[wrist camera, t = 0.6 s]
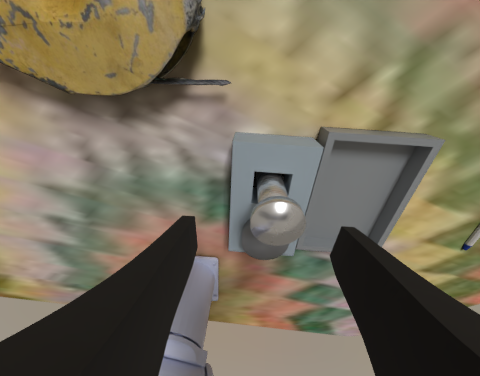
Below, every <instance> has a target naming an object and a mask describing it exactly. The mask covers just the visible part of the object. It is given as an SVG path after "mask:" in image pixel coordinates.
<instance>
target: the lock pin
mask: <svg viewBox="0 0 480 376" xmlns="http://www.w3.org/2000/svg"><path fill="white" fill-rule="evenodd" d="M256 178H257V194H258V203H257V204H256V205H255V206H254V208H253V210H252V212H251V216H250V228H251V232H252V234H253V235H254V237H255V238H256V239H258V240H259V241H261V242H262V243H265V244H268V245H273V246H280V245H286V244H289V243H291V242H294V241H295V240H297V239H298V238H299V237H300V236H301V235H302V234H303V232H304V230H305V228H306V218H305V216H304V213H303V211H302V208H301V206H300V205H299V204H298V203H297V202H296V201H294V200H293V199H291V198H288V195H287V191H286V188H285V185H284V182H283V179H282V176H281V173H270V172H257V173H256Z"/></svg>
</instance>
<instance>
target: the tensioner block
mask: <svg viewBox="0 0 480 376" xmlns="http://www.w3.org/2000/svg"><path fill="white" fill-rule="evenodd" d="M323 149H324V147H323V146H321V145H320V144H319V143H318V142H317V141H316V140H315V139H314V138H311V137H297V136H282V135H268V134H254V133H240V132H235V136H234V139H233V151H232V176H231V201H230V226H229V251H237V252H246V253H247V254H248V255H249V256H251V257H253V258H256V259H260V260H270V259H274V258H277V257H279V256H281V255H287V256H293V255H294V251H295V248H296V244H297V241H298V239H297V240H295V241H294V242H291V243H289V244H286V245H280V246H273V245H268V244H265V243H262V242H261V241H259V240H258V239H256V238H255V237H254V235H253V234H252V232H251V228H250V216H251V212H252V210H253V208H254V206H255V205H256V204H257V203H258V194H257V188H254V187H253V181H254V171H256V172H270V173H283V174H284V179H283V182H284V185H285V188H286V191H287V195H288V198H291V199H293V200H294V201H296V202H297V203H298V204H299V205H300V206H301V208H302V211H303V213H304V216H305V213H306V209H307V205H308V202H309V198H310V195H311V191H312V188H313V184H314V181H315V177H316V174H317V170H318V167H319V163H320V160H321V156H322V152H323Z"/></svg>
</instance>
